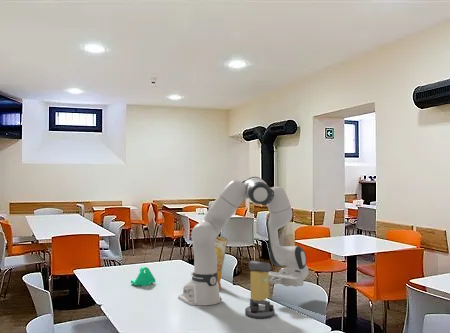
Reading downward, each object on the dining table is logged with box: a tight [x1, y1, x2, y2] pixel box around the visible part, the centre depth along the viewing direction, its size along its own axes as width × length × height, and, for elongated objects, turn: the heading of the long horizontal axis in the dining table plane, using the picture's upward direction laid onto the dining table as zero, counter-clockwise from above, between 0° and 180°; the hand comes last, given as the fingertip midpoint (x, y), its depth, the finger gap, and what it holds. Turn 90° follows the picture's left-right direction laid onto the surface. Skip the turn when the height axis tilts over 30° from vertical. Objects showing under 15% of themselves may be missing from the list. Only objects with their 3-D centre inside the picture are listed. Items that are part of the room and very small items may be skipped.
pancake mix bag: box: [215, 235, 228, 290], centre depth 238 cm, size 7×19×28 cm, turn 34°
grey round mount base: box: [244, 298, 276, 320], centre depth 189 cm, size 13×13×6 cm
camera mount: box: [130, 265, 156, 287], centre depth 243 cm, size 12×8×10 cm, turn 125°
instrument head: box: [248, 260, 272, 306], centre depth 189 cm, size 9×7×18 cm
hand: (272, 281), depth 197 cm, fingers closed
